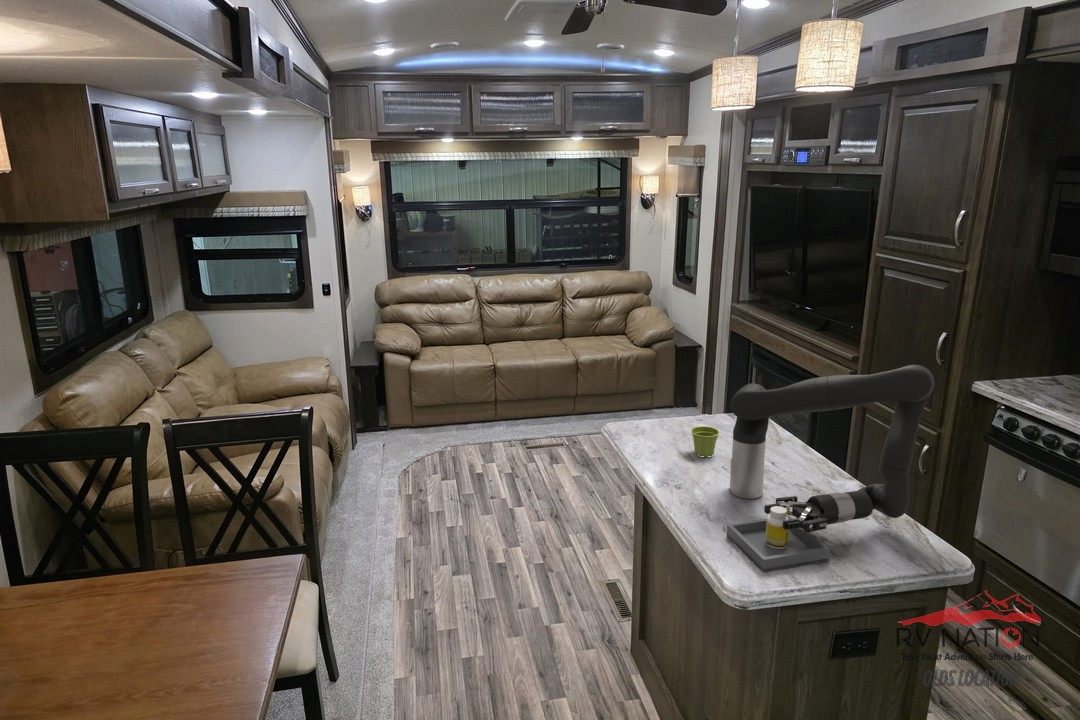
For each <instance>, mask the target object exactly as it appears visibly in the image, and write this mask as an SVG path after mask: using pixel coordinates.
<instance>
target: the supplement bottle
mask: <svg viewBox="0 0 1080 720" xmlns="http://www.w3.org/2000/svg"><path fill="white" fill-rule="evenodd" d="M786 509H787V508H784V507H780V506H773V507H771V508H770V514H768V516H767V517H766V519H767V523H766V538H765V543H766V545H767V546H769V547H771V548H774V549H784V548H786V547H787V544H788V531H789V529H787V530H785V529H784V528H783V521H784V520H789V519H788V518H787V517H786V516H787V510H786Z"/></svg>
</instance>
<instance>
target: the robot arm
mask: <svg viewBox="0 0 1080 720" xmlns="http://www.w3.org/2000/svg"><path fill="white" fill-rule="evenodd" d="M934 388H935V378H934V375H933V374H932V372H931V371H930V370H929V369H928V368H927V367H925V366H923V365H919V364H911V365H910V364H909V365H906V366H902V367H900V368H899V367H898V368H896V369H895V368H894V369H892V370H888V371H881V372H877V373H871V374H837V375H827V376H821V377H813V378H809V379H808V378H807V379H805V380H802V381H798V382H796V383H793V384H789V385H788V386H787V385H786V386H784V387H780V388H774V389H766V388H765V387H764V386H763V385H761V384H758V383H748V384H745V385H744V386H743V387H741V388H740V389H739V390H738V391H736V393H735V394H734V395H733V397H732V399H731V402H730V410H731V412H732V413H733V415H734V416H735V417H736V421H735V424H734V426H733V430H732V449H731V450H732V452H731V454H732V455H731V460H730V478H729V488H730V493H731V494H732V495H733V496H735V497H737V498H739V499H745V500H753V499H759V498H761V497H762V496H763V494H764V493H763V492H764V491H763V490H764V476H765V474H764V473H765V460H766V459H765V457H766V443H767V442H766V440H767V439H766V438H767V437H766V436H767V432H768V429H769V422H770V421H769V420H770V418H771V417H773V416H774V417H775V416H780V415H785V414H786V415H787V414H790V415H791V414H803V413H805V414H806V413H814V412H815V413H817V412H828V411H836V410H842V409H843V410H844V409H849V408H853V407H860V406H864V405H868V404H874V403H887V402H889V403H891V402H895V406H894V413H893V415H892V421H891V423H890V426H889V430H888V432H887V434H886V438H885V441H884V445H883V448H882V452H881V456H880V461H879V465H878V472H879V475H880V476H881V477H882V478H884V480H885V484H884V483H872V484H869V485H865V486H864V487H861V488H860V489H858V490H854V491H852V490H851V491H846V492H833V493H832V492H831V493H826V494H819V495H812V496H810V498H809V499H807V500H806V501H799V500H798V496H796V495H793V496H784V497H775V503H770V504H765V505H764V513H765V514H766V515H770V508H771V507H773V506H780V507H784V508H785V509H786V510H787V515H789V516H790V517H795V518H793V519H790V520H784V521H783V528H784V529H785V530H787V529H794V528H798V529H804V531H805V532H810V533H813V532H817V531H821V530H822V531H823V530H826V529H827V525H834V524H840V523H845V522H846V523H847V522H849V521H853V520H860V519H864V518H867V517H869V516H871V515H872V513H873V511H874V510H875V511H878V512H880V513H882V514H884V515H885V516H887V517H888V518H889V517H890V518H892V519H899V518H900V517H903V516H904V515H905V513H906V512H907V511H908V509H909V506H910V498H911V497H910V494H911V493H910V481H909V480H910V479H909V474H910V469H911V467H912V461H913V456H914V451H915V446H916V440H917V436H918V435H917V434H918V430H919V425H920V421H921V418H922V414H923V412H924V408H925V407H926V404H927V402H928V400H929V397H930V395H931V394H932V392H933V391H934ZM791 509H792V510H791Z"/></svg>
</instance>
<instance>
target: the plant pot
mask: <svg viewBox="0 0 1080 720" xmlns="http://www.w3.org/2000/svg"><path fill="white" fill-rule="evenodd" d="M690 433H691V434H692V439H693V447H694V454H695V453H696V454H697V455H699V456H704V457H706V458H709V457H708V456H712V455H713V456H714V453H715V448H716V445H717V444H716V443H717V439H718V436H719V434H720V430H719V429H718V428H715V427H712V426H707V425H705V426H702V425H700V426H699V425H698V426H694V427H693V428H691V429H690ZM696 454H695V455H696ZM713 456H712V457H713Z"/></svg>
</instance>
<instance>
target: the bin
mask: <svg viewBox="0 0 1080 720" xmlns="http://www.w3.org/2000/svg"><path fill="white" fill-rule="evenodd" d="M786 517H787V518H788V519H789V520H790V519H794V518H793V517H792V516H791V515H787V516H786ZM766 523H767V518H761V519H756V520H755V519H754V520H749V521H742V522H736V523H730V524H729V523H728V524H727V529H726V537H727V539H729V540H730V542H732V543H733V544H734V545H735V547H737V548H738V549H739V551H740V552H741V553H742V554H743V555H745V556H746V557H747V558H748V560H750V562H752V563H753V564H754V566H755V567H756V568H757V569H759V570H760V571H761V572H762V573H770V572H775V571H782V570H787V569H792V568H798V567H804V566H805V567H806V566H810V565H818V564H823V563H829V562H830V557H831V548H830V547H829V546H827V545H826V544H825V543H824V542H823V541H822V540H820V539H819V538H818V537H816V536H815V535H814V534H813V533H812V532H805V531H804V529H798V528H794V529H789V531H788V544H787V547H786V548H784V549H774V548H771V547H769V546H767V545H766V543H765V538H766Z"/></svg>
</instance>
